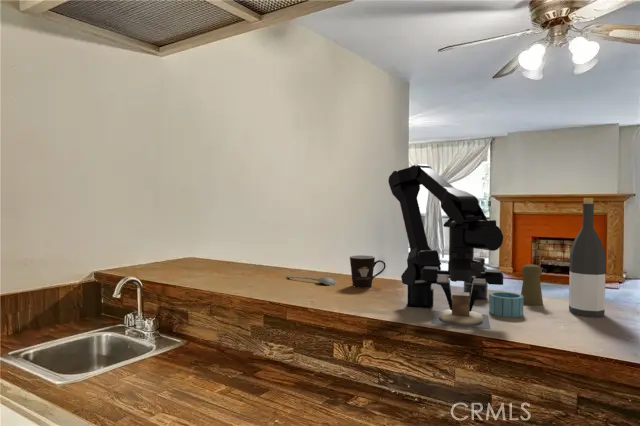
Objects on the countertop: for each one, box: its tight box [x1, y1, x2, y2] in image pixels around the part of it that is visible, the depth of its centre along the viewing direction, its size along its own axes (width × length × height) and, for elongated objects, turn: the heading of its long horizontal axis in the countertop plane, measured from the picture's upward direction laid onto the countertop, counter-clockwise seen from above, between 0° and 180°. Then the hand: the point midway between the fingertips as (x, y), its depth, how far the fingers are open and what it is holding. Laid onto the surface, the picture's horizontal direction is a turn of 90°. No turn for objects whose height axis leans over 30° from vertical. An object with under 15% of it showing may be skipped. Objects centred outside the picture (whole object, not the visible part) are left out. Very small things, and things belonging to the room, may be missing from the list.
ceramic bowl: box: [488, 291, 525, 318], centre depth 114 cm, size 8×8×5 cm
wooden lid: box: [439, 291, 482, 325], centre depth 108 cm, size 10×10×6 cm
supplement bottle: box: [463, 256, 489, 300], centre depth 134 cm, size 7×7×12 cm
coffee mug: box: [349, 254, 386, 288], centre depth 150 cm, size 12×9×10 cm
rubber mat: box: [430, 310, 491, 330], centre depth 108 cm, size 13×13×1 cm
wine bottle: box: [568, 197, 607, 318], centre depth 115 cm, size 8×8×30 cm
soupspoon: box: [285, 275, 338, 286], centre depth 159 cm, size 22×3×7 cm
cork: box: [520, 263, 544, 306], centre depth 126 cm, size 6×6×11 cm
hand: (460, 310), depth 108 cm, fingers open, 4 cm apart
